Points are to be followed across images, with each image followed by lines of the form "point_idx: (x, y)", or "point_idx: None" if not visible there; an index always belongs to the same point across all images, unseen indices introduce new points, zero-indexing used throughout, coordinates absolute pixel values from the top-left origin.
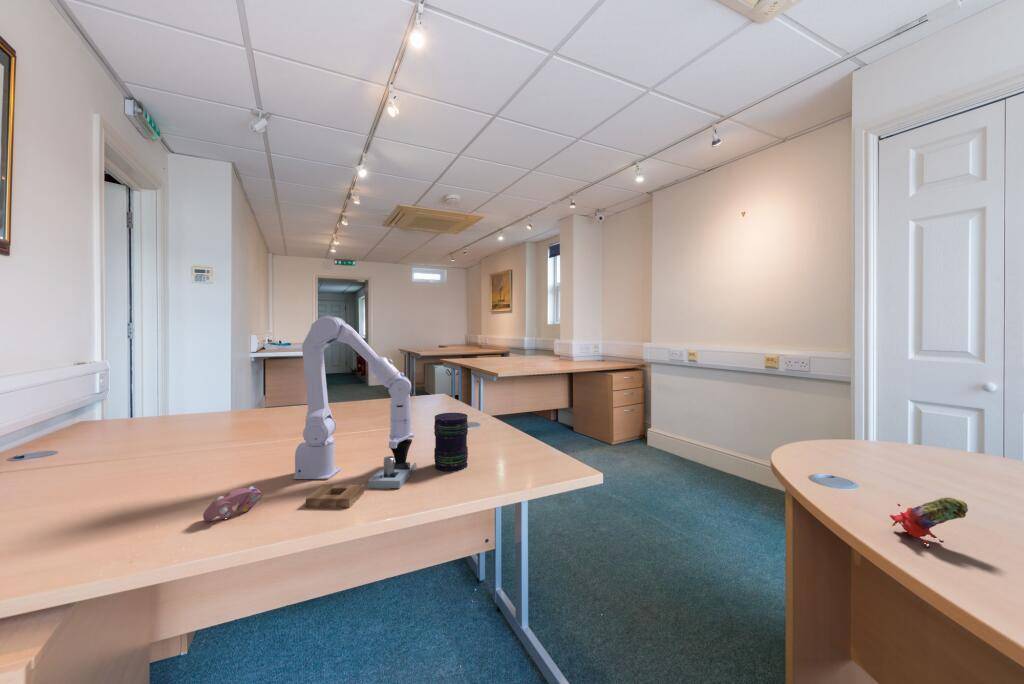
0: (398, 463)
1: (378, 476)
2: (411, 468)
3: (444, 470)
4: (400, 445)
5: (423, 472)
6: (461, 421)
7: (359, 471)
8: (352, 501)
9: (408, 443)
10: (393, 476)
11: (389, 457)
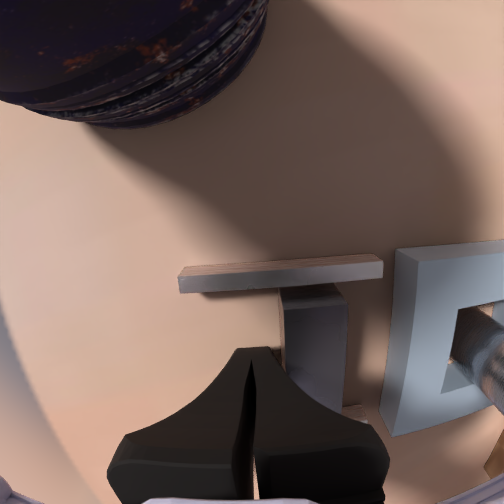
0: (319, 386)
1: None
2: (322, 269)
3: (264, 19)
4: (379, 492)
5: (300, 169)
6: None
7: None
8: None
9: (311, 459)
10: (488, 317)
11: None
